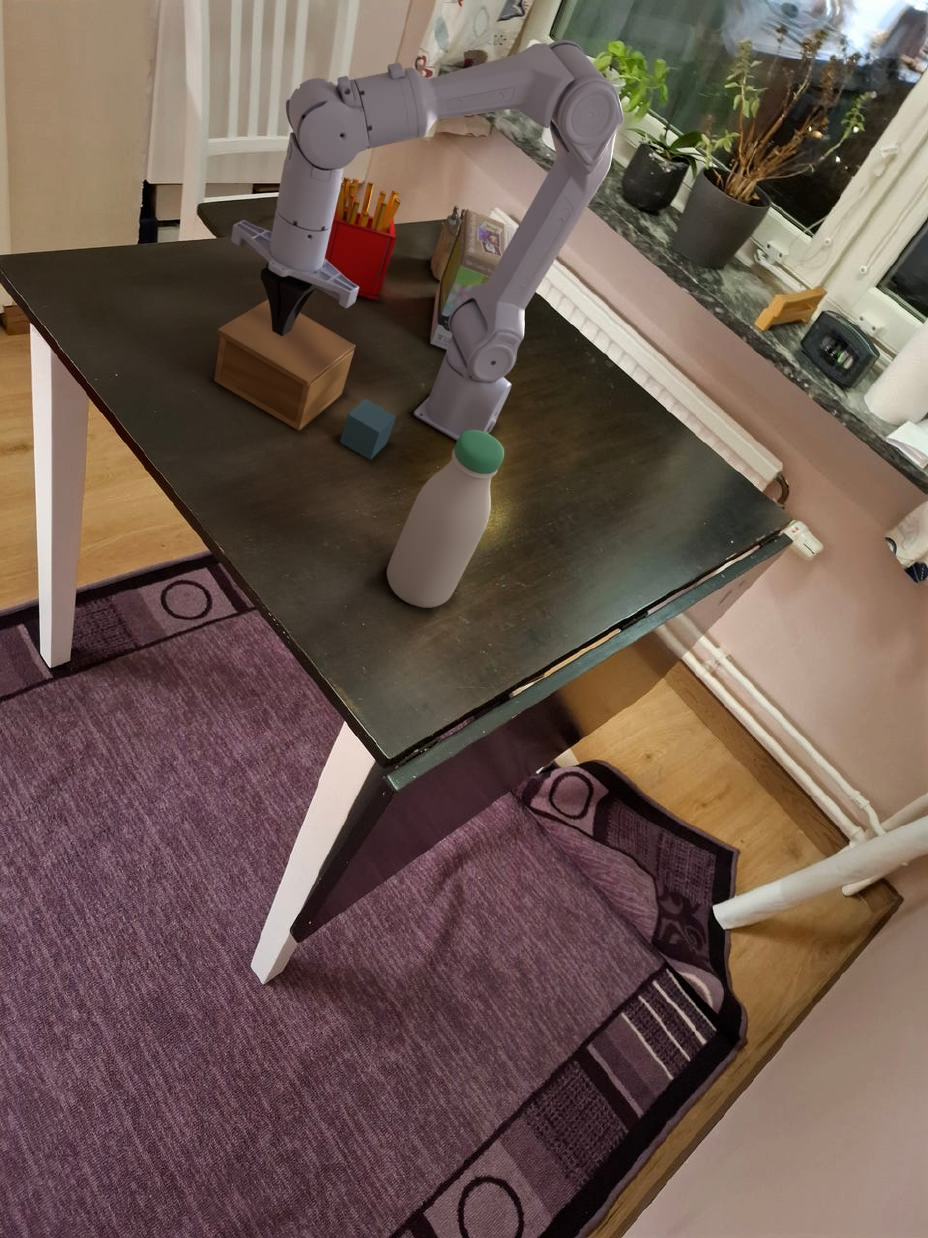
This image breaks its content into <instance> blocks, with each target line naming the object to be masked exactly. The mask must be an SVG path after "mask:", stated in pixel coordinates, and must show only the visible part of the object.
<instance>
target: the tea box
mask: <svg viewBox="0 0 928 1238" xmlns="http://www.w3.org/2000/svg"><path fill="white" fill-rule="evenodd" d="M465 210H466V212H465V215H464V217H463V220H462V222H461V225H460V228H459V231H458V234H457V237H456V239H455V242H454V245H453V248H452V250H451V253H450V256H449V258H448V261H447V264H446V267H445V270H444V273H443V275H442V278H441V281H440V280H439V284H438V287H437V290H436V292H435V299H434V300H435V301H434V307H433V316H432V323H431V332H430V344H431V345H433V346H436V347H438V348H441V349H442V350H446V351H447V349H448V347H449V345H450V344H449V343H450V340H451V337H452V333H451V332H450V329H449V325H448V321H449V316H450V314H451V312H452V310H453V309H454V307H455V306H456V305H457V304H459V303H460V302H461V301H462V300H464V299H465V298H466V297H467V296H468V294H469V293H470V291H471V289H472V287H473V286H474V285H478V284H484V283H487V282H488V280H489V278H490V277H491V275H492V273H493V271H494V269H495V268H496V266H497V264H498V262H499V261H500V259H501V257H502V255H503V253H504V252H505V250H506V248H507V246H508V244H509V243H510V241H511V239H512V237H513V235H514V234H515V232H516V230H517V228H518V227H515V226H512V225H510V224H507V223H504V222H502V221H500V220H497V219H494V218H492V217H489V216H487V215H484V214H483V213H479V212H477V211H473V210H471V209H469V208H467V209H465Z"/></svg>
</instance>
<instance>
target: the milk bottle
mask: <svg viewBox="0 0 928 1238" xmlns="http://www.w3.org/2000/svg"><path fill="white" fill-rule="evenodd" d="M504 459H505V448H504V447H503V445H502V443H501V442H500V441H499V440H498V439H497V438H496V437H494V436H493V435H491V434H489V433H485V432H482V431H478V430H469V431H465V432H463V433H462V434H461V435H460V437H459V438H458V440H457V441H456V443H455V446H454V448H453V450H452V452H451V460H450V461H449V462H448V463H447V464H446V465H445V466H444V467H443V468H442V469H440V470H439V471H438V472H436V473H435V474H433V475H432V476H431V477H430V478H429V479H428V480H427V481H426V482H425V483H424V484H423V486H422V488H421V489H420V491H419V492H418V494H417V496H416V499H415V501H414V503H413V505H412V506H411V508H410V511H409V514H408V515H407V518H406V521H405V523H404V526H403V528H402V530H401V532H400V535H399V538H398V540H397V543H396V545H395V547H394V549H393V552H392V555H391V556H390V560H389V562H388V566H387V569H386V577H387V581H388V585H389V586H390V589H391V590H392V591H393V592H394V594H395V595H396V596H397V597H398V598H400V599H401V600H402V601H404V602H406V603H408V604H409V605H412V606H415V607H417V608H425V609H426V608H429V609H432V608H437V607H438V606H441V605H443V604H445V603H446V602H448V601H449V600H450V598H451V597H452V596H453V593H454V592H455V590H456V588H457V586H458V584H459V583H460V581H461V579H462V576H463V574H464V573H465V571H466V569H467V567H468V565H469V563H470V561H471V559H472V558H473V555H474V553H475V552H476V549H477V547H478V545H479V543H480V541H481V539H482V538H483V535H484V533H485V530H486V528H487V526H488V522H489V521H490V516H491V508H492V507H491V506H492V501H491V500H492V499H491V498H492V497H491V482H492V477H494V476H496V475H497V473H498V470H499V468H500V467H501V465H502V463H503V461H504Z"/></svg>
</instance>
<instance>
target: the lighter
mask: <svg viewBox="0 0 928 1238" xmlns="http://www.w3.org/2000/svg"><path fill="white" fill-rule="evenodd" d="M459 210H460V206H458V205H454V207H453V209H452V213H451V214H449V215H447V217H446V219H445V221H444V223H443V226H442V229H441V232H440V235H439V238H438V241H437V244H436V247H435V250H434V253H433V256H432V258H431V260H430V263H431V265H430V270H431V271H432V275H433V277H434V278H435V279H437V280H438V281H439V282H440V281H441V278H442V275H443V273H444V270H445V267H446V264H447V261H448V258H449V256H450V253H451V250H452V248H453V245H454V242H455V239H456V237H457V234H458V231H459V228H460V225H461V222H462V220H463V217H464V215H465V212H466V210H467V209H465V208H463V209H461V211H460V216H459Z"/></svg>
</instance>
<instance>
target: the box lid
mask: <svg viewBox="0 0 928 1238" xmlns="http://www.w3.org/2000/svg"><path fill="white" fill-rule="evenodd" d="M216 335H218V336H219V337H223V338H225V339H226V340H228V341H230V342H231V343H233V344H235V345H237V346H238V347H240V348H242V349H243V350H245V351H247V352H248V353H250V354H252V355H254V356H255V357H257V358H259V359H260V360H262V361H264V362H265V363H267V364H269V365H271V366H272V367H274V368H276V369H277V370H279V371H281V372H283V373H284V374H286V375H288V376H289V377H291V378H293V379H294V380H296V381H298V382H300V383H301V384H303V385H305V386H306V387H307V386H308V385H310V384H311V383H312V382H314V381H315V380H316V379H317V378H319V377H320V376H321V375H323V374H324V373H325V372H326V371H328V370H329V369H330V368H332V367H333V366H334V365H335V364H337V363H338V362H339V361H341V360H342V359H343V358H345V357H346V356H347V355H348V354H350V353H351V352H352V351H354V352H355V349H356V345H355V344H354V343H352V342H350V341H349V340H347V339H345V338H343V337H342V336H340V335H338V334H337V333H335V332H333V331H332V330H330V329H328V328H326V327H325V326H323V325H322V324H319V323H318V322H316V321H315V320H313V319H312V318H310V317H308V316H306V315H304V314H303V313H301V312H300V313H299V315H298V317H297V318H296V320H295V323H294V325H293V327H292V330H291V331H290V332H288V333H287V334H285V335H284V336H280V335H278V334H277V333H275V332H273V331H272V320H271V311H270V305H269V300H268V299H266V300H265V301H263V302H261V303H259V304H258V305H256V306H254V307H252V308H251V309H249V310H247V311H246V312H244V313H243V314H241V315H239V316H238V317H236V318H234V319H232V320H231V321H229V322H227V323H226V324H224V325H222V326H221V327H219V328H218V329H217V333H216Z"/></svg>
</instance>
